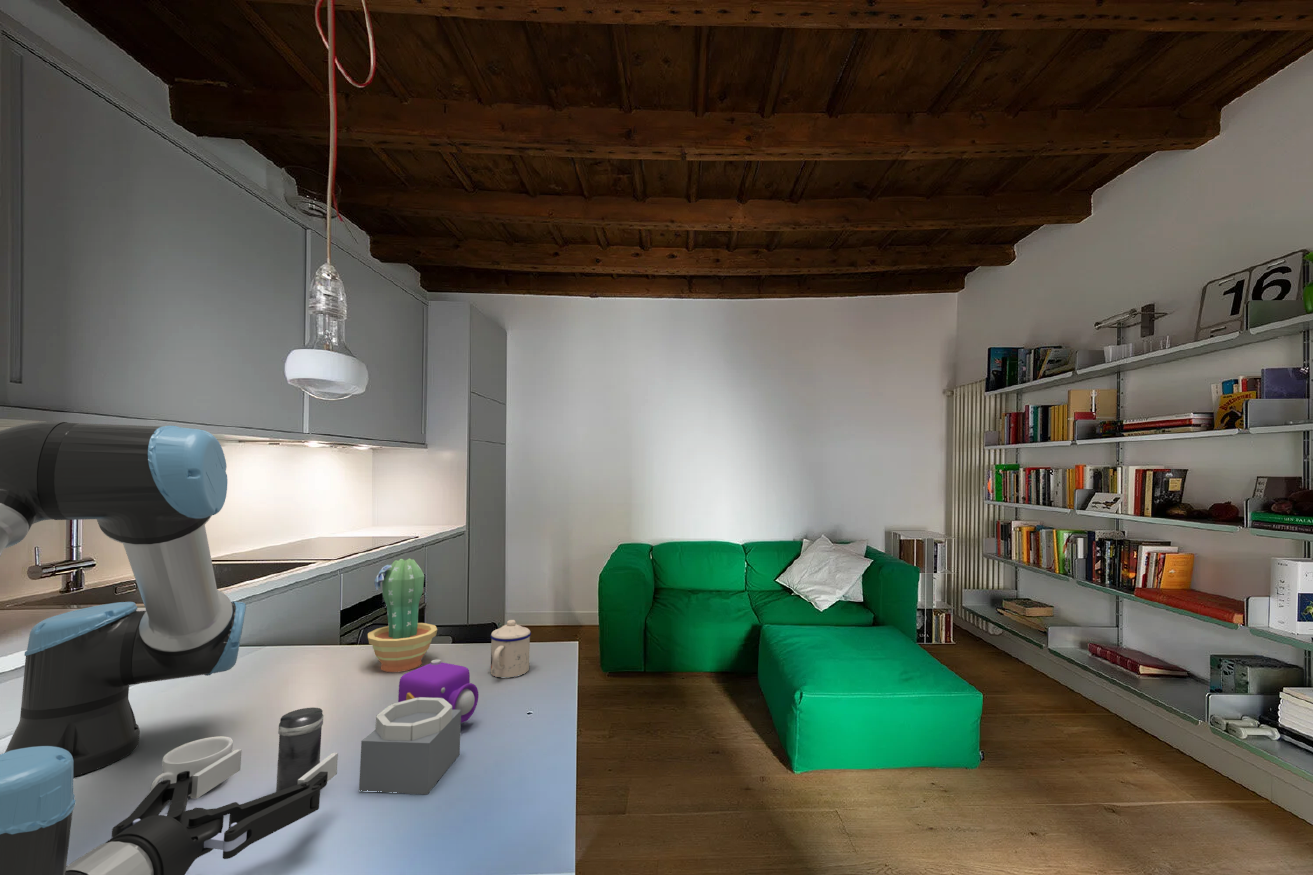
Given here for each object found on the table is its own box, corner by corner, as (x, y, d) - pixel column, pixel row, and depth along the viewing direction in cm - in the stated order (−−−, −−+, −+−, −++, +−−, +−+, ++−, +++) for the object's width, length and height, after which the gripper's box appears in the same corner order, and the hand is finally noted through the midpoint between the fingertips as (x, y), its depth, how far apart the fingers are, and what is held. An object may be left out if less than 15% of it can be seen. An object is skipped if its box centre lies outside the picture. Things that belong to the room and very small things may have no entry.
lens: (264, 806, 72) (269, 722, 73) (292, 784, 77) (297, 706, 78) (301, 808, 72) (306, 723, 73) (328, 785, 77) (332, 707, 78)
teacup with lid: (501, 663, 128) (502, 614, 129) (536, 666, 127) (537, 616, 128) (475, 682, 117) (477, 628, 118) (513, 685, 115) (515, 630, 116)
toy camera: (457, 742, 90) (460, 681, 91) (387, 733, 93) (390, 674, 94) (489, 714, 101) (491, 660, 102) (425, 707, 104) (428, 655, 104)
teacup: (200, 771, 81) (203, 734, 81) (244, 775, 80) (246, 738, 80) (125, 811, 71) (129, 769, 71) (174, 817, 70) (177, 774, 70)
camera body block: (358, 791, 76) (362, 726, 76) (399, 752, 87) (402, 695, 87) (427, 794, 75) (430, 728, 76) (459, 754, 86) (461, 697, 87)
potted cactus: (398, 652, 136) (402, 553, 138) (449, 657, 132) (453, 556, 134) (348, 673, 121) (354, 562, 123) (405, 680, 117) (410, 565, 119)
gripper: (-6, 914, 51) (196, 786, 72) (242, 927, 50) (374, 793, 71) (3, 831, 52) (200, 729, 73) (248, 843, 50) (376, 735, 71)
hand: (286, 761), depth 72 cm, fingers open, 13 cm apart
